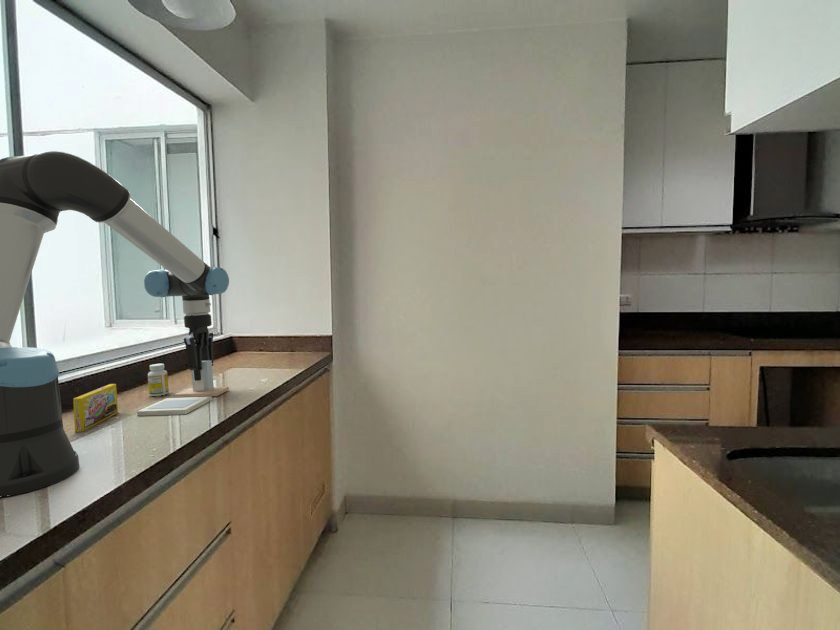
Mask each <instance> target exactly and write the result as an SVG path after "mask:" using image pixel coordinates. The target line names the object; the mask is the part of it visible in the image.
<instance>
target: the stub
mask: <svg viewBox="0 0 840 630" xmlns="http://www.w3.org/2000/svg"><path fill="white" fill-rule="evenodd" d="M212 364H213V363H212V360H204V361H202V369H204V381H205V390H204V391H195V380H194V370H190V371H191V382H192V383H191V384H192V387H188V388H186V389H184V390H181V391H179V392H177V393H174V397H183V396H212V397H218V396H220V395H222V394H224V393H225V392H227V391H229V390H230V387H229V386H214V374H213V366H212Z"/></svg>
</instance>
